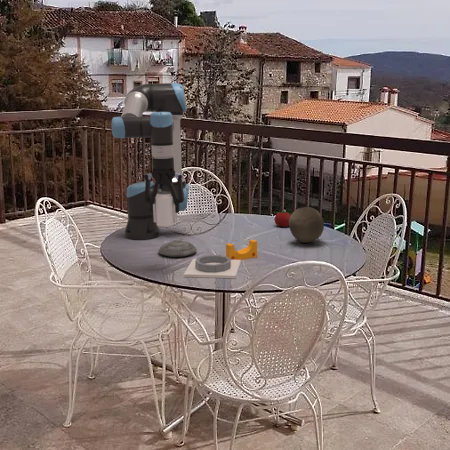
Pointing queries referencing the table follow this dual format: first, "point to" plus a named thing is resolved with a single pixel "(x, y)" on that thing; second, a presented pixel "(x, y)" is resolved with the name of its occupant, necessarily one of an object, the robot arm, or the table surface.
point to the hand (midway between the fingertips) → (165, 221)
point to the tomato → (282, 219)
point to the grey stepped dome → (177, 248)
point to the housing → (213, 267)
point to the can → (164, 209)
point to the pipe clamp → (242, 251)
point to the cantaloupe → (306, 224)
